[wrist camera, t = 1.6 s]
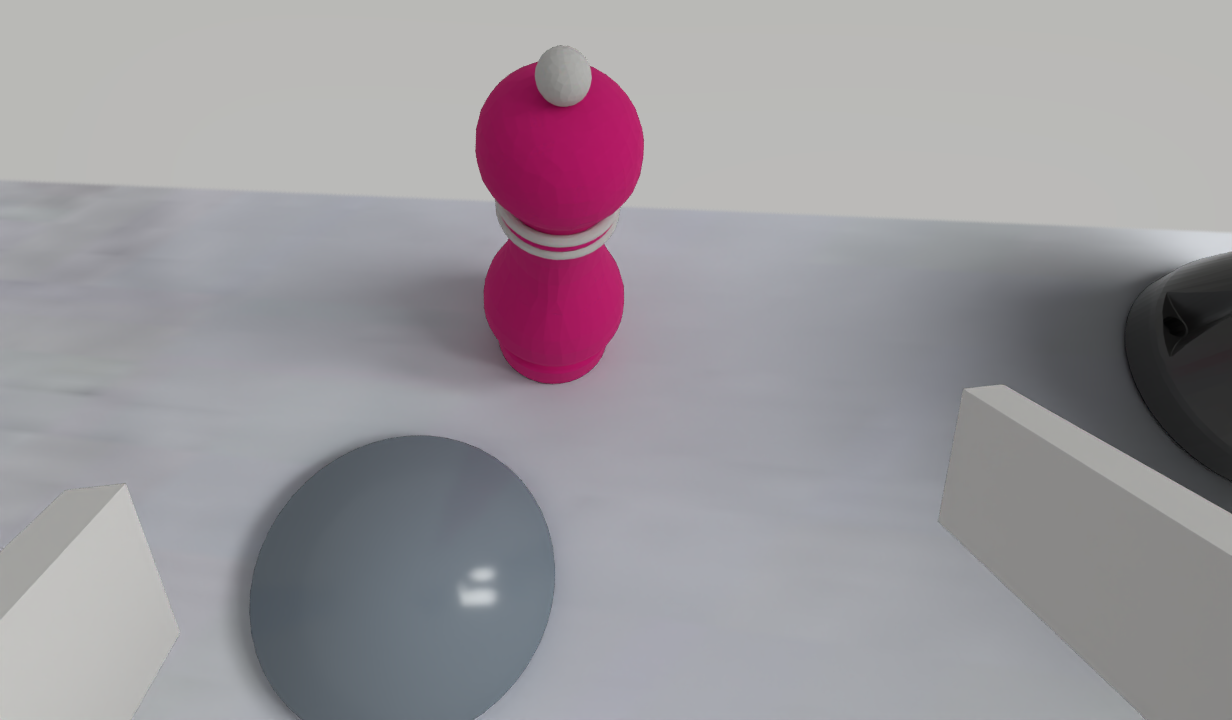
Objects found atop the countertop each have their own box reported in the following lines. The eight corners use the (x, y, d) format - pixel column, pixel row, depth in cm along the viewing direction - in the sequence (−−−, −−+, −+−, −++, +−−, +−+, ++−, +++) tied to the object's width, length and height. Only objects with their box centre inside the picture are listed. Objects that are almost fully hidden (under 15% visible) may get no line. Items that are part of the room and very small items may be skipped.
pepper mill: (547, 418, 36) (554, 192, 18) (463, 328, 38) (390, 36, 19) (640, 339, 39) (730, 70, 20) (557, 258, 40) (571, -60, 22)
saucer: (486, 399, 36) (484, 392, 35) (603, 644, 32) (604, 644, 31) (221, 515, 33) (212, 511, 32) (314, 810, 28) (306, 815, 27)
